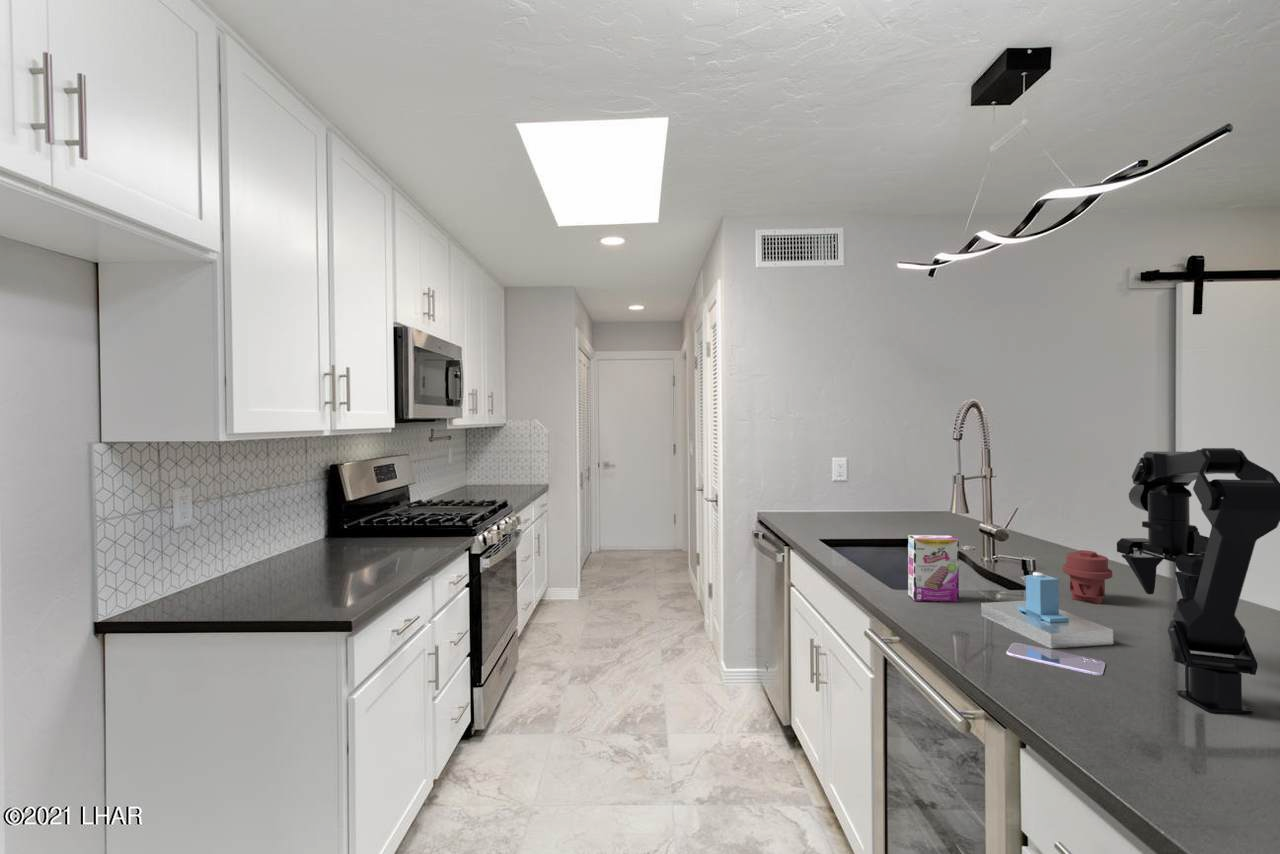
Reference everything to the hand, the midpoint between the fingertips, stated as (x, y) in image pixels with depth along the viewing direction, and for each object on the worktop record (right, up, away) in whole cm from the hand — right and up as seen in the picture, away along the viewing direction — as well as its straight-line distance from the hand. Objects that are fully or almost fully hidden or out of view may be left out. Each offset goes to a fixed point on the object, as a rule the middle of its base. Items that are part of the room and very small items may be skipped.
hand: (1169, 601), depth 107 cm
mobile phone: (-19, -13, +4) cm, 23 cm away
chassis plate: (-10, -12, +19) cm, 25 cm away
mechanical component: (+15, -12, +39) cm, 43 cm away
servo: (-10, -12, +19) cm, 25 cm away
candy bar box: (-23, -12, +41) cm, 49 cm away
